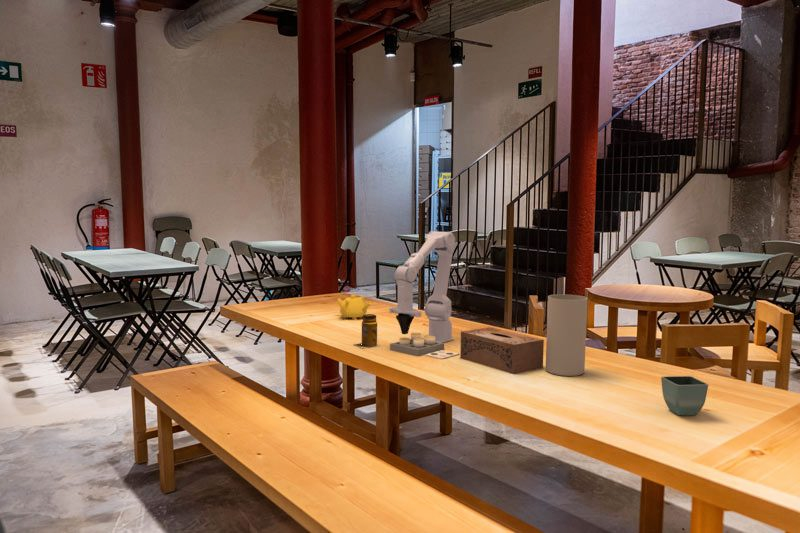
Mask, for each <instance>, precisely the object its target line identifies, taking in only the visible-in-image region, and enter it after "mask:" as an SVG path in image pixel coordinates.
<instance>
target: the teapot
mask: <svg viewBox="0 0 800 533" xmlns="http://www.w3.org/2000/svg"><path fill="white" fill-rule="evenodd" d="M336 301H337V303H338V305H339V307H340V308H339V314H340V315H341V316H343V318H347V319H349V318H352V319H357V318H359V319H363V318H362V317H363V315H365V314H367V313H368V308H369V307H371V305H372V303H371V302H370V301H367V302H366V299H365V296H359V297H358V296H357V295H356V294H350V297H346V298H344V300H343V299H341V298H340V297H339V298H337V299H336ZM352 319H351V320H352Z"/></svg>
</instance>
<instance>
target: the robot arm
mask: <svg viewBox="0 0 800 533" xmlns="http://www.w3.org/2000/svg"><path fill="white" fill-rule="evenodd" d="M455 245H456V237H455V235H454V234H453V232H452V231H436V230H431V231H429V232H428V234H427V235H426V236H425V242H424V243H423V244H422V246H421V247H420V249H419V250H418V251H417V252H413V253H411V254H410V257H409V258H408V259H407V260H406V261H405V262H404V264H403V265H399V266H398V267H397V268H396V269H395V271H394V273H393V275H394V279H395V281H396V282H395V283H396V286H397V307H394V306H392V307H389V309H388V312H389V313H390V314H392V313H393V314H397V315H395V319H396V321H397V322H398V324H399V327H400V332H401V334H402V335H408V334H409V331H410V327H411V324H412V322H413V320H414V318H421V317H422V311H418V310H416V309H414V306H413V304H414V301H413V300H414V296H413V295H414V294H413V293H414V282H415V280H416V279H417V275H418V273H419V272H418V271H419V270H421V268H422V267H423V265H424V264H425V263H426V262H425V259H426V258H427V257H428V256H429V255H431V253H432V252H433V251H434V252H435V253H437V255H438V261H437V266H436V274H435V281H434V287H433V293H432V294H431V295H430V296H429V297H428V298H427V301H426V303H425V306H424V313H425V314H424V315H426V316H427V317H426V318H427V319H428V335H432V336H435V342H440V343H447V342H450V341H454V338H452V337H453V333H452V332H453V323H452V321H451V319H450V317H451V316H452V312H453V310H452V300H451V299H450V298H449V297H448V296H447V294H448V287H449V280H450V273H451V266H452V259H453V254H454V251H455Z"/></svg>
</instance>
